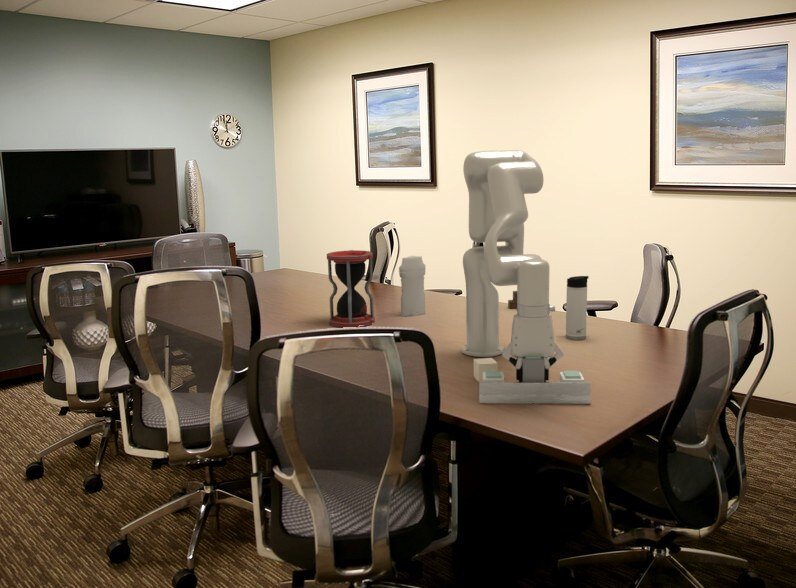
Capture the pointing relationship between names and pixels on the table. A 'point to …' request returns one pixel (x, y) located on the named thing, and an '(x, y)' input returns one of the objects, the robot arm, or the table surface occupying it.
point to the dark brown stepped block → (513, 301)
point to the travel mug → (576, 307)
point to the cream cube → (483, 367)
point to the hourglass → (350, 288)
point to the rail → (535, 392)
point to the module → (533, 369)
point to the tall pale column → (412, 286)
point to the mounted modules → (564, 376)
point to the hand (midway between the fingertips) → (532, 382)
